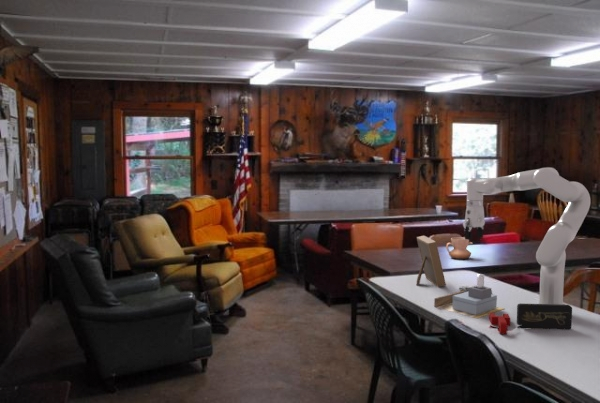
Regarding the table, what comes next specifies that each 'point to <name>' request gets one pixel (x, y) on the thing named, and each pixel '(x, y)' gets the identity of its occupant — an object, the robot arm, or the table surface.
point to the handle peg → (480, 281)
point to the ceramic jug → (459, 248)
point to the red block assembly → (500, 322)
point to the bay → (447, 304)
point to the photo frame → (430, 261)
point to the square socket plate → (475, 301)
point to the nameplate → (544, 316)
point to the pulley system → (467, 288)
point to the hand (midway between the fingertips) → (473, 238)
